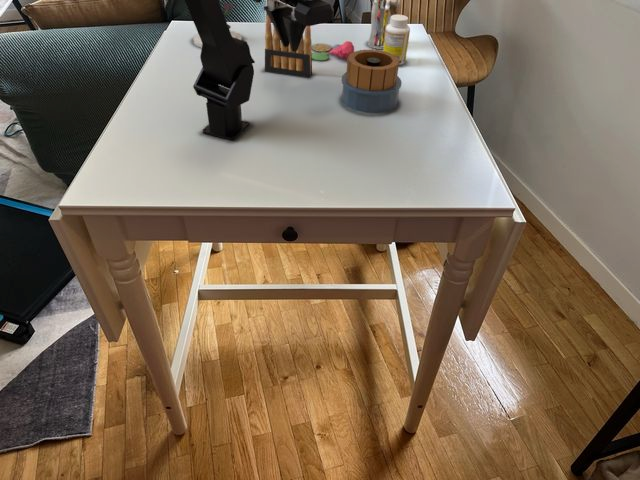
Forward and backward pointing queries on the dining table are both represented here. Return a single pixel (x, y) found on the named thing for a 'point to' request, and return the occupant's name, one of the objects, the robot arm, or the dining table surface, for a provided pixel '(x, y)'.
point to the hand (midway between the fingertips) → (290, 48)
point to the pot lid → (373, 63)
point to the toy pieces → (333, 51)
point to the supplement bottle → (397, 37)
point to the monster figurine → (234, 34)
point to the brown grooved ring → (372, 70)
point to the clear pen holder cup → (381, 20)
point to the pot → (369, 101)
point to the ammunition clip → (287, 54)
